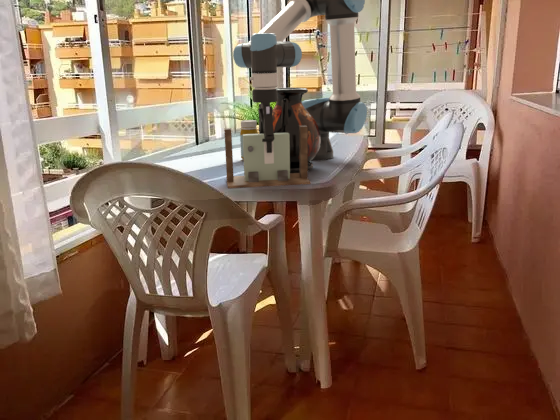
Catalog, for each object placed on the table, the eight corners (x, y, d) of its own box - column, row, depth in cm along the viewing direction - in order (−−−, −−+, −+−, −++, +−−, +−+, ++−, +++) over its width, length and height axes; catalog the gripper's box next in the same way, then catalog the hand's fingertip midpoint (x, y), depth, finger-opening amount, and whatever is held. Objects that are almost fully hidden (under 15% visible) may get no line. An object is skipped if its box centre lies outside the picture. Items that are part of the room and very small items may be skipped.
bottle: (239, 160, 194) (238, 121, 190) (243, 157, 201) (241, 119, 197) (257, 160, 193) (255, 121, 189) (260, 157, 200) (258, 119, 196)
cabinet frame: (303, 177, 162) (302, 123, 157) (310, 186, 150) (310, 128, 145) (226, 181, 159) (223, 126, 154) (228, 190, 147) (225, 131, 142)
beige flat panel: (288, 176, 156) (287, 132, 152) (290, 179, 152) (290, 134, 148) (244, 179, 155) (242, 134, 151) (245, 182, 151) (243, 136, 147)
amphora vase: (266, 163, 186) (264, 87, 178) (323, 164, 183) (323, 86, 175) (253, 176, 166) (250, 90, 158) (317, 177, 162) (317, 89, 154)
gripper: (248, 87, 158) (251, 153, 164) (255, 90, 134) (258, 167, 140) (272, 86, 159) (273, 152, 165) (283, 89, 135) (284, 166, 141)
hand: (266, 159), depth 152 cm, fingers open, 13 cm apart
